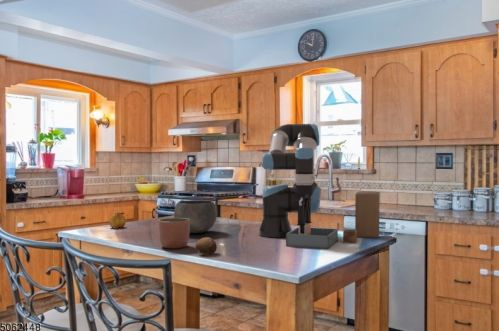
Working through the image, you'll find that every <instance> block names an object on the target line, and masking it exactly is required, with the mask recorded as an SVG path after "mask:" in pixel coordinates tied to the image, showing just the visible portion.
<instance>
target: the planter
mask: <svg viewBox="0 0 499 331" xmlns="http://www.w3.org/2000/svg"><path fill="white" fill-rule="evenodd" d="M189 231H190V219H187V218H174V217H170V218H169V217H166V218H161V219H159V220H158V237H159V243H160V246H161V247H162V248H165V249H172V250H173V249H174V250H175V249H182V248H185V247H187V245H188V244H189V242H190V233H189Z"/></svg>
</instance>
